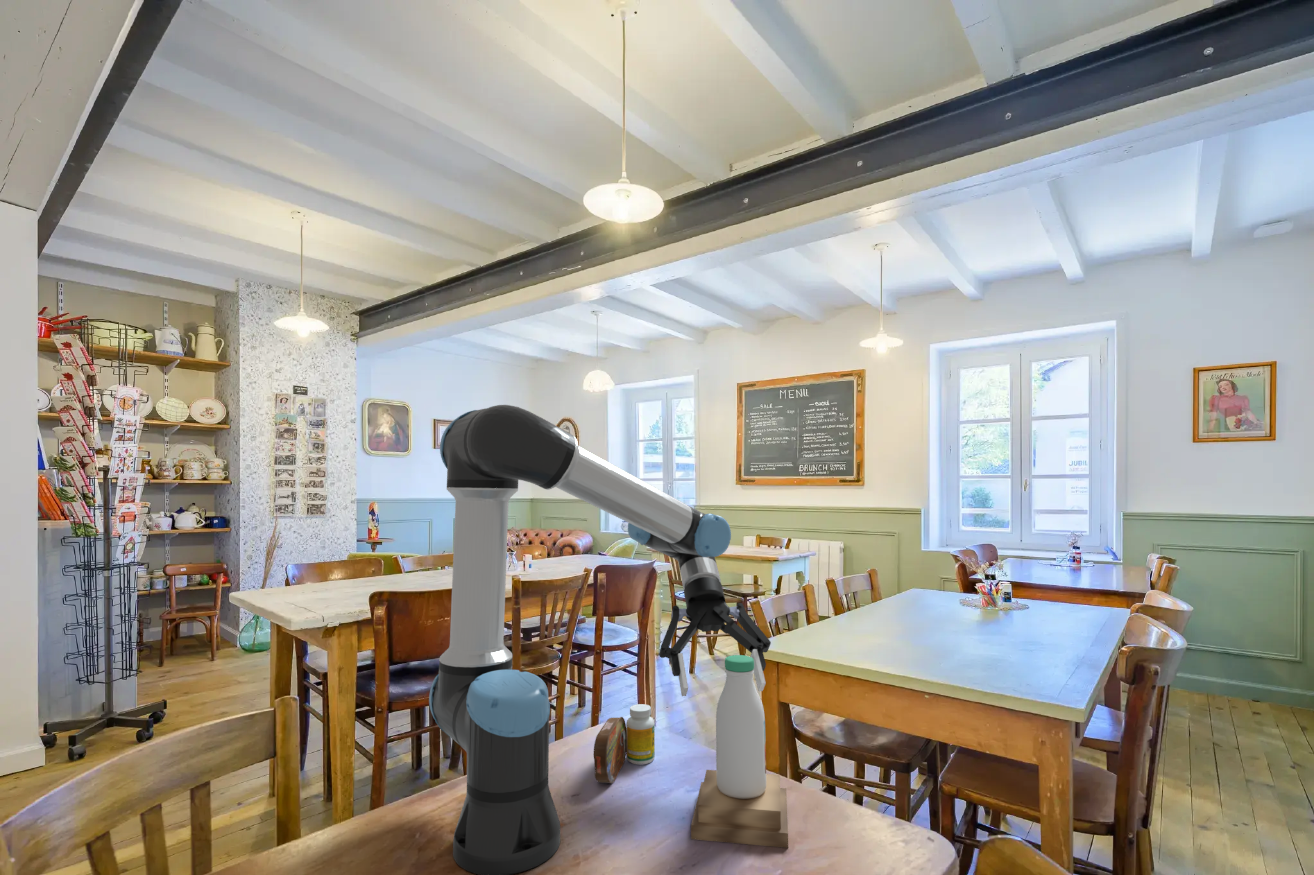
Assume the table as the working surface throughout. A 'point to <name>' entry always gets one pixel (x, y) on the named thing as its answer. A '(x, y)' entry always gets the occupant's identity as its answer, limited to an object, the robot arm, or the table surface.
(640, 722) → the supplement bottle
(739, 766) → the milk bottle
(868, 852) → the table surface
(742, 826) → the plinth
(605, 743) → the tin
